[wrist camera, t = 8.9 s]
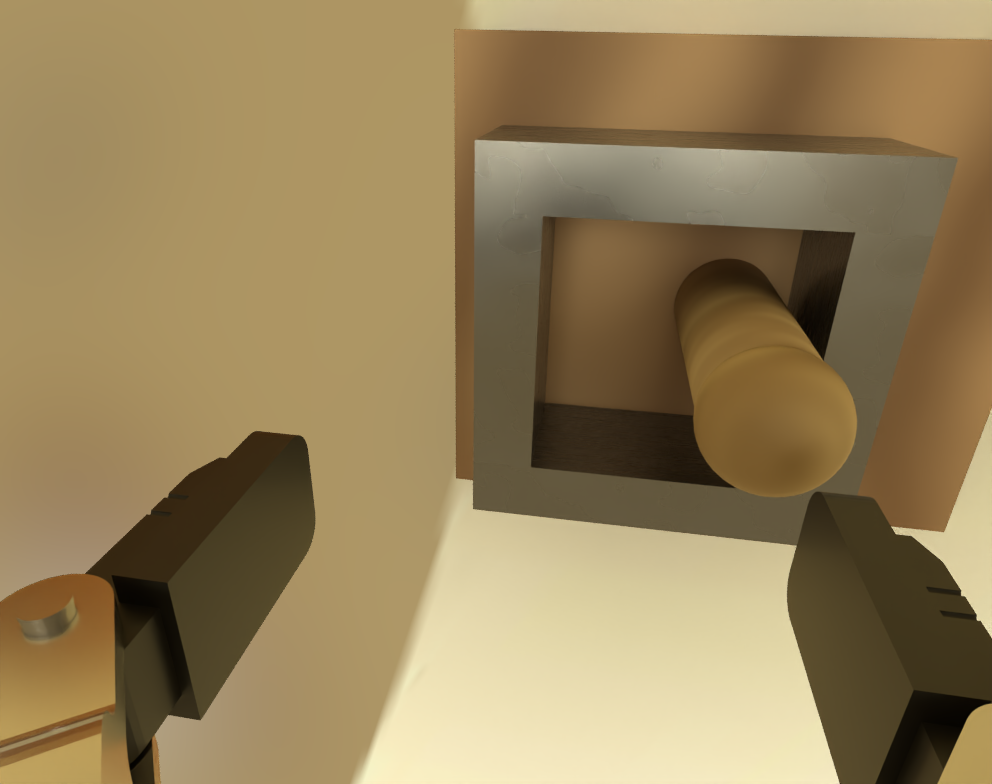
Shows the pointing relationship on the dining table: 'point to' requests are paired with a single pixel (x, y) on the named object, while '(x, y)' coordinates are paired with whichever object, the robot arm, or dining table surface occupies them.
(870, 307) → the steel link
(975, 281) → the keeper board
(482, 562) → the dining table surface
